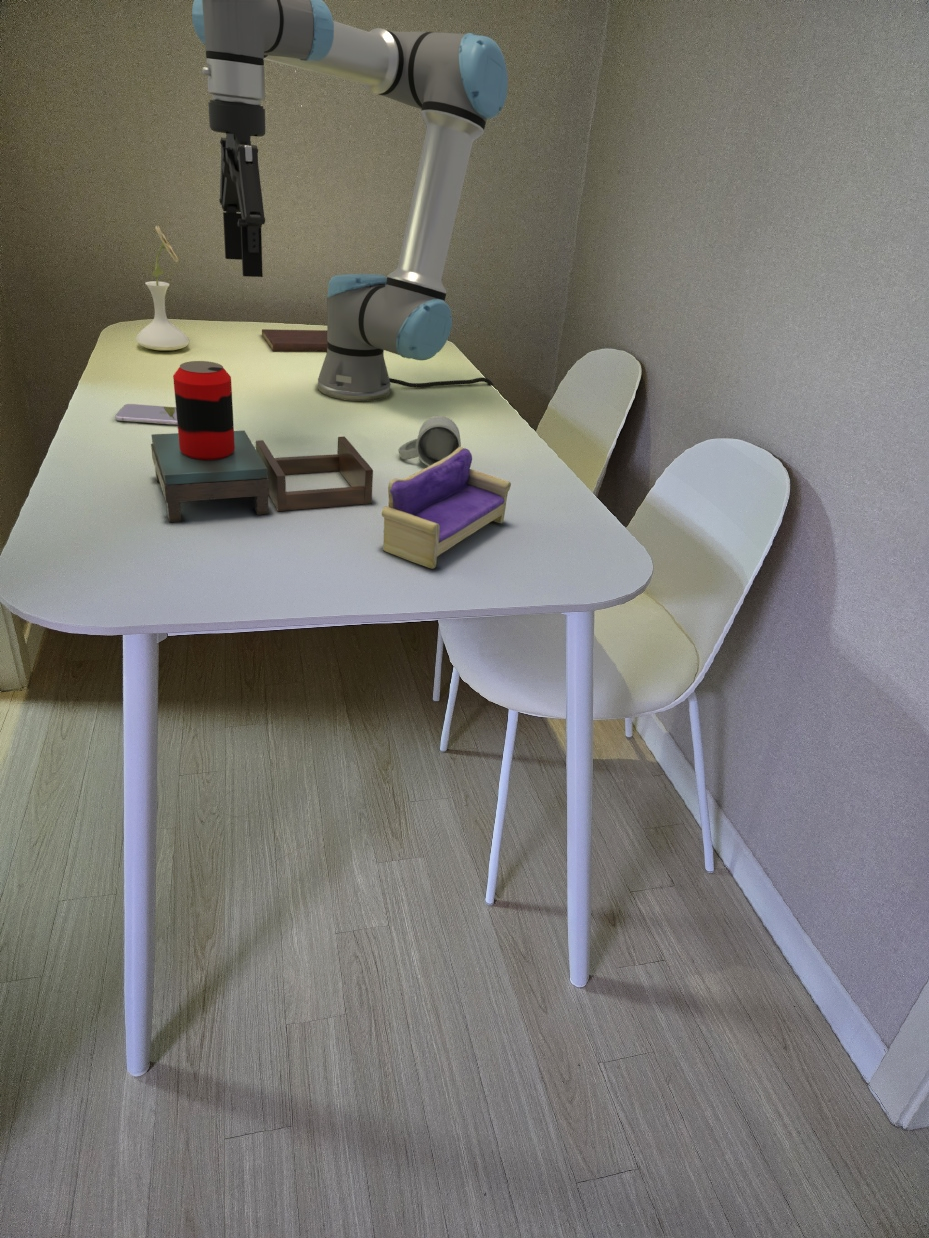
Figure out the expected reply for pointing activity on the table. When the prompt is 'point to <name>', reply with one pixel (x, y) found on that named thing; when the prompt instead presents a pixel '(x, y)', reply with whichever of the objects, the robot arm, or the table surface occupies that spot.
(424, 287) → the robot arm
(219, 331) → the table surface
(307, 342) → the notebook
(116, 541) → the table surface
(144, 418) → the mobile phone
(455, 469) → the toy sofa
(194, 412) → the soda can
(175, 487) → the footstool
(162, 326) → the flower in vase
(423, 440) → the ceramic mug
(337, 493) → the can rack
